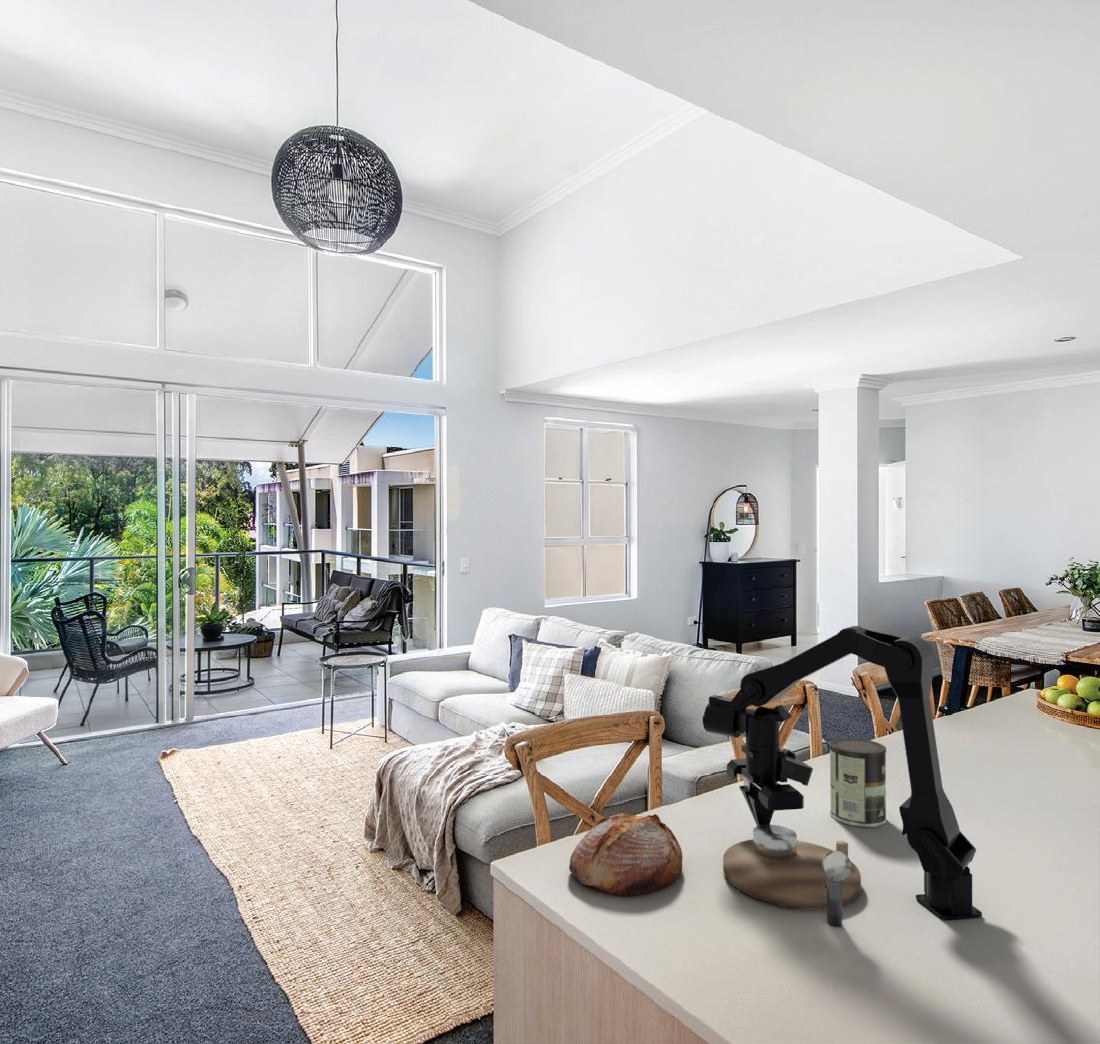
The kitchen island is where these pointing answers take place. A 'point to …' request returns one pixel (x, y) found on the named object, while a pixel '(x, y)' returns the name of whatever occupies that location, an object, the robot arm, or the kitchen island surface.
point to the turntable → (787, 875)
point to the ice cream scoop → (835, 884)
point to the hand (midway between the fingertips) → (763, 832)
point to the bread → (627, 855)
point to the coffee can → (858, 782)
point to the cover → (775, 842)
